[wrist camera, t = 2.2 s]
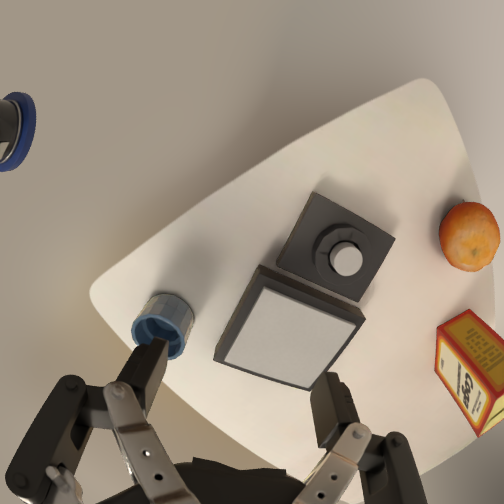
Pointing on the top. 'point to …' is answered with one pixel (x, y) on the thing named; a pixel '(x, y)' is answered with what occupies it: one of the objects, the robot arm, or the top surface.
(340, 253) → the button
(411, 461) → the robot arm
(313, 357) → the scale
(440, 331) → the baking soda box
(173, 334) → the cup
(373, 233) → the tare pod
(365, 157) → the top surface
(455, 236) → the fruit
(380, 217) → the top surface
